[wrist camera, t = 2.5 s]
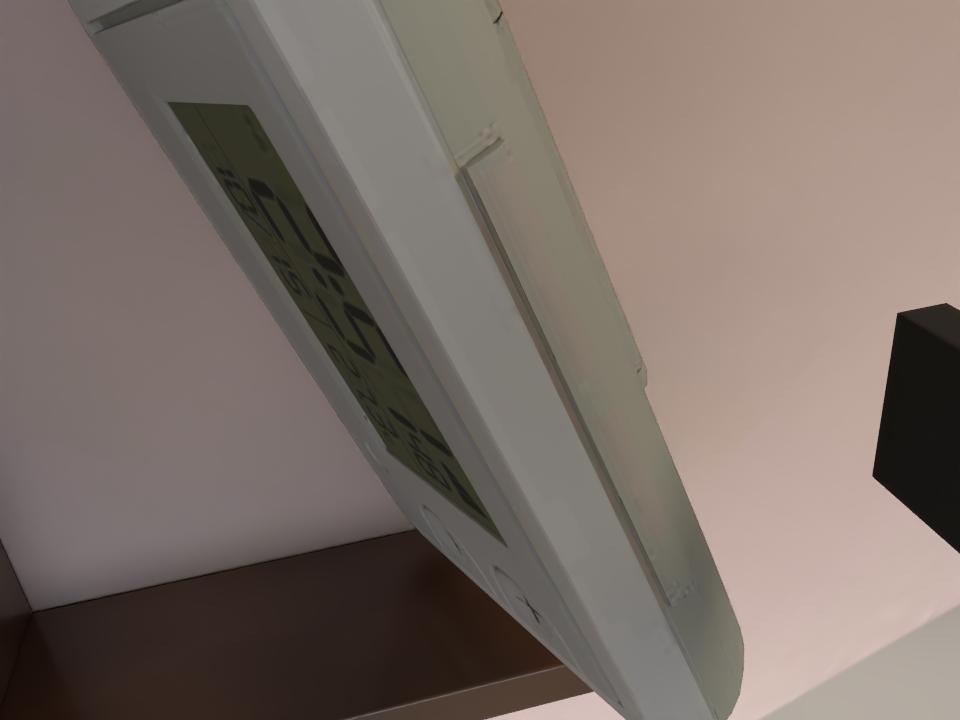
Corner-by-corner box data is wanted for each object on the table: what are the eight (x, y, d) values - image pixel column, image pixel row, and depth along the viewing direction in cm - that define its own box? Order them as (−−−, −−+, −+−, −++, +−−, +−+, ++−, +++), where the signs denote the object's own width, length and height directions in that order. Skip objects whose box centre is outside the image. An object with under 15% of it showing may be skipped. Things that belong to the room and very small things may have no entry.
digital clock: (41, -99, 16) (-249, -128, 7) (495, -213, 17) (778, -375, 8) (311, 541, 24) (345, 927, 15) (613, 442, 25) (822, 749, 16)
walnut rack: (599, -317, 17) (753, -426, 11) (614, 517, 26) (703, 664, 21) (-443, -252, 14) (-866, -358, 9) (1, 654, 23) (-73, 864, 18)
